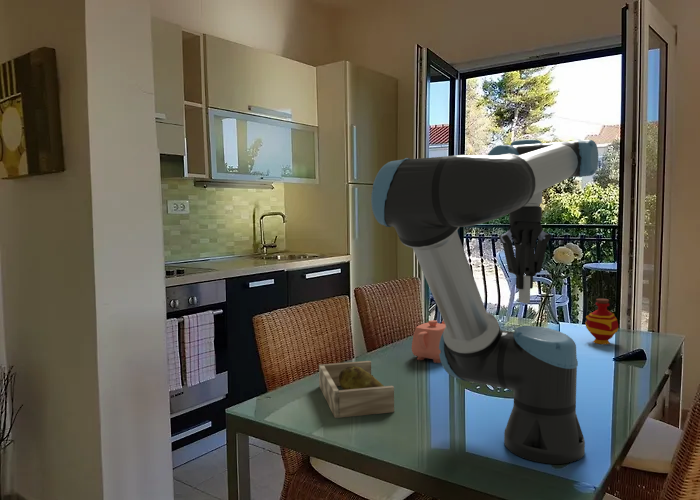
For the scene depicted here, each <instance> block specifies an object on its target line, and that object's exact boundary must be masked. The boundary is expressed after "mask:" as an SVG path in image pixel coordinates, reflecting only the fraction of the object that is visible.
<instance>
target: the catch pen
mask: <svg viewBox="0 0 700 500" xmlns="http://www.w3.org/2000/svg"><path fill="white" fill-rule="evenodd" d="M349 366H356V367H360V368H362V369H364V370H365V371H366V372H368V373H370V374H371V375H372V361H371V360H363V361H361V360H360V361H359V360H358V361H350V362H336V363H334V362H333V363H322V364H318V380H319V381H318V383H319V386H318V387H319V389H320V391H321V393H322V394H323V397H324V399H325V401H326V402H327V405H328V407H329V408H330V411H331V413H332V415H333V417H334V419H339V418H349V417H359V416H369V415H370V416H371V415H378V414H388V413H395V387H394V385H383V386H382V387H371V388H360V389H349V390H343V389H340V390H339V388H338V387H341V385H340V383H339V374H340V372H341V371H342V370H343V369H345V368H347V367H349Z"/></svg>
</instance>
